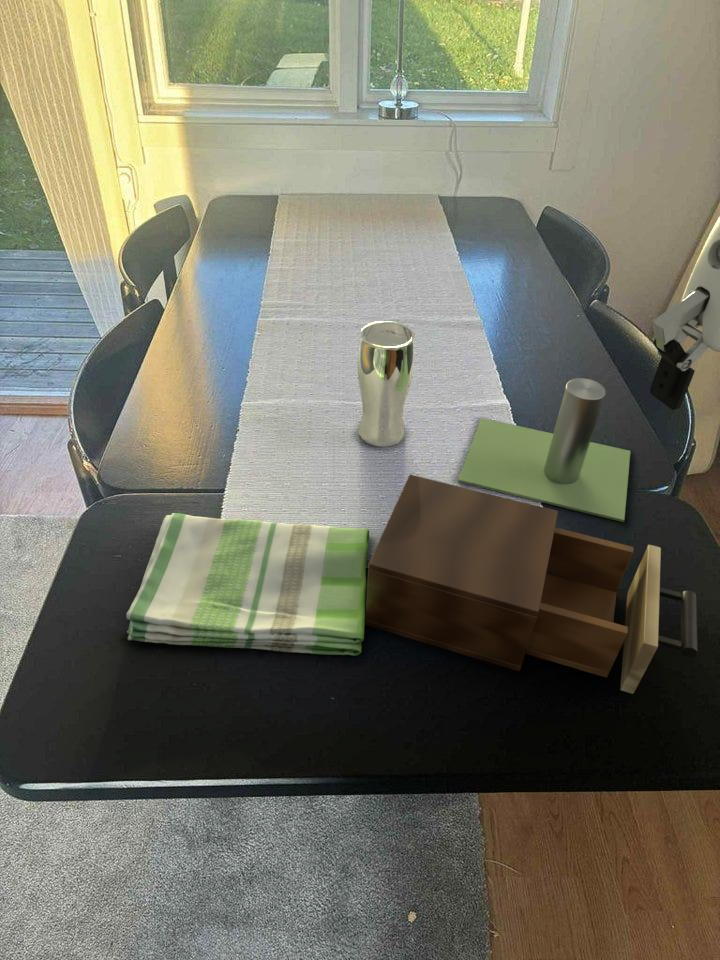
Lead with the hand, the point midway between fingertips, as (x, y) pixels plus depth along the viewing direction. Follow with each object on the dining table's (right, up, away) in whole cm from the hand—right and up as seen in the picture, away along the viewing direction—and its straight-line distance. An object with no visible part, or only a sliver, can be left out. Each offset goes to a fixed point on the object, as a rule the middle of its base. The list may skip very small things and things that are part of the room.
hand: (705, 389), depth 63 cm
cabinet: (-21, -20, +11) cm, 31 cm away
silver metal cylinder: (-5, -7, +26) cm, 27 cm away
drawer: (-9, -23, +7) cm, 25 cm away
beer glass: (-28, -2, +32) cm, 42 cm away
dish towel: (-42, -19, +11) cm, 47 cm away
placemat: (-7, -6, +27) cm, 29 cm away
